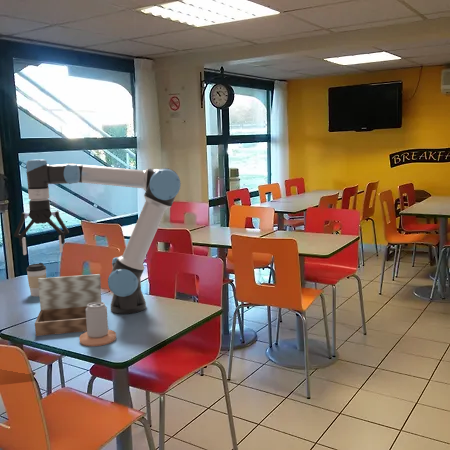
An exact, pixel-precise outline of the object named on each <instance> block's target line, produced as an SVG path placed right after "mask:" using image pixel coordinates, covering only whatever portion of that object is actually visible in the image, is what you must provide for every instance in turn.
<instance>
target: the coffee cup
mask: <svg viewBox="0 0 450 450" xmlns="http://www.w3.org/2000/svg"><path fill="white" fill-rule="evenodd" d="M25 271H26V272H27V281H28V288H29V290H30V291H29V292H30V297H40V296H39V283H38V278H47V266H46V265H45V264H44V263H43V262H40V263H31V264H29V265H28V267H26V270H25Z"/></svg>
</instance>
